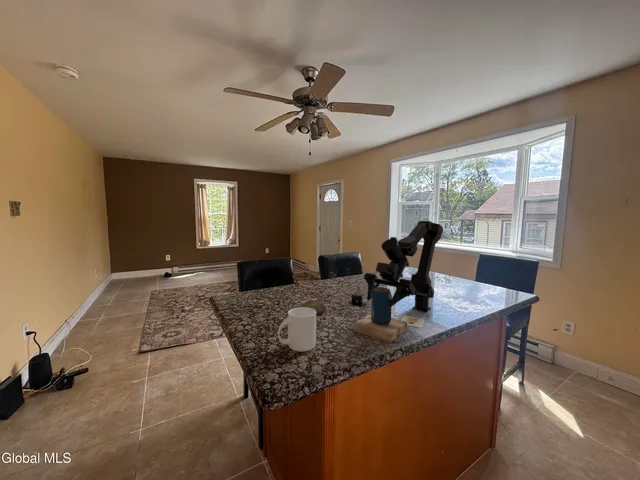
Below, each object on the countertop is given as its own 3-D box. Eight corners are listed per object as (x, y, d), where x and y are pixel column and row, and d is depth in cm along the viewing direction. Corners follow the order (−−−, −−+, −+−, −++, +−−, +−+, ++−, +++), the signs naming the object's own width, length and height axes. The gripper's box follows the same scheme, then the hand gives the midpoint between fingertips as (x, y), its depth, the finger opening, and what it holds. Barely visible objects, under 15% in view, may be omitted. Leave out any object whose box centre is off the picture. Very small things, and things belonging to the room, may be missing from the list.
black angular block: (371, 306, 120) (371, 296, 120) (360, 309, 115) (361, 299, 115) (352, 300, 130) (352, 291, 129) (341, 302, 125) (342, 293, 125)
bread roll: (313, 319, 103) (313, 307, 102) (290, 312, 110) (290, 301, 110) (331, 310, 113) (331, 299, 113) (309, 305, 120) (309, 294, 120)
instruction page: (404, 315, 106) (404, 315, 106) (425, 319, 102) (425, 318, 102) (398, 323, 98) (398, 323, 98) (421, 328, 94) (421, 327, 94)
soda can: (395, 322, 92) (395, 289, 91) (383, 328, 87) (384, 293, 87) (378, 317, 97) (379, 285, 96) (367, 321, 93) (367, 288, 92)
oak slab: (372, 319, 102) (372, 313, 102) (407, 328, 93) (407, 321, 93) (353, 330, 91) (353, 323, 91) (390, 342, 82) (390, 334, 82)
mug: (273, 344, 81) (273, 311, 80) (309, 337, 86) (309, 305, 85) (282, 357, 73) (282, 320, 72) (320, 348, 78) (321, 314, 78)
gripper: (366, 251, 100) (347, 284, 93) (412, 256, 86) (394, 295, 80) (377, 269, 106) (360, 301, 99) (422, 276, 92) (406, 314, 86)
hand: (378, 302), depth 91 cm, fingers open, 9 cm apart
